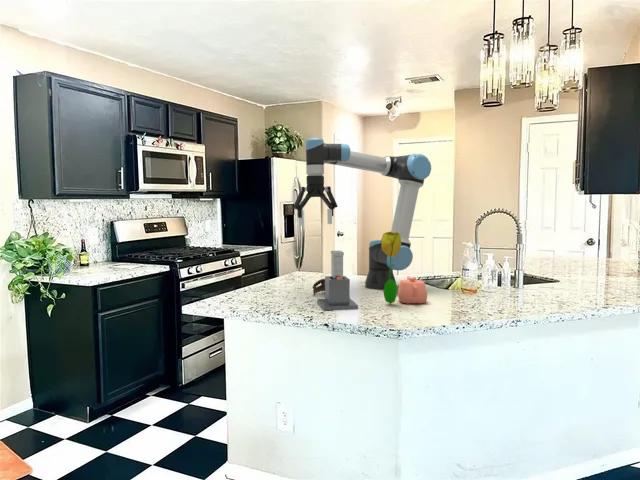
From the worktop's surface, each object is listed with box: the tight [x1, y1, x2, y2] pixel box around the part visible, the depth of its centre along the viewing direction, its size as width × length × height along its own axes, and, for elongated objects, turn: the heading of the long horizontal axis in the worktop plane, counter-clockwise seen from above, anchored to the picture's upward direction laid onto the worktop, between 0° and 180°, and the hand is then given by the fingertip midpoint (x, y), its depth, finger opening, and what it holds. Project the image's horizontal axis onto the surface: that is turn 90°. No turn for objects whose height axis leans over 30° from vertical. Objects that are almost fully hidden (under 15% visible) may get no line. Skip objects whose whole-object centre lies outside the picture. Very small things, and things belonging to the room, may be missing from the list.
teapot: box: [397, 275, 428, 305], centre depth 204 cm, size 12×18×10 cm, turn 0°
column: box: [330, 250, 345, 279], centre depth 195 cm, size 4×6×21 cm
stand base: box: [316, 275, 359, 311], centre depth 195 cm, size 14×14×12 cm
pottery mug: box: [312, 278, 325, 295], centre depth 218 cm, size 12×10×8 cm
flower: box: [380, 231, 401, 306], centre depth 197 cm, size 9×8×30 cm
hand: (316, 224), depth 207 cm, fingers open, 13 cm apart
